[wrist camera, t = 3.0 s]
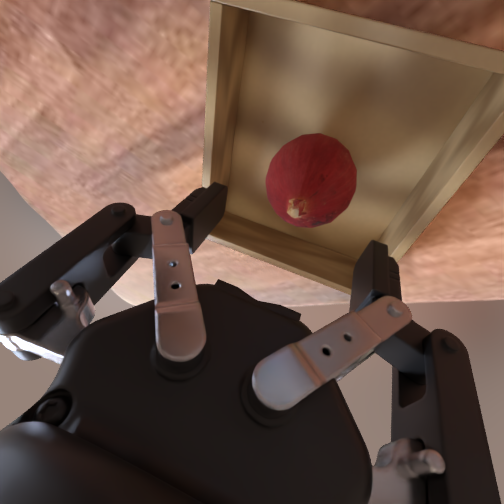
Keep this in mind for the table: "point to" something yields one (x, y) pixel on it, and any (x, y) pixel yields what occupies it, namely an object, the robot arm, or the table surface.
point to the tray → (342, 125)
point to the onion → (311, 180)
